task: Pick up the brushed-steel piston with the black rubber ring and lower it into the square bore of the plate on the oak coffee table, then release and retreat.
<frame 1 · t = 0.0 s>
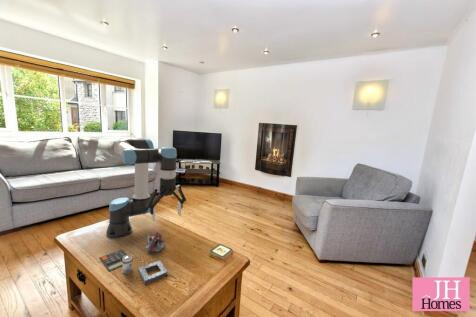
hand: (166, 217, 107), 28 cm above the table, fingers open, 13 cm apart
bore plate: (152, 273, 105), on the table
piston: (127, 271, 105), on the table
brake caliper: (155, 249, 126), on the table
calculator: (115, 260, 113), on the table
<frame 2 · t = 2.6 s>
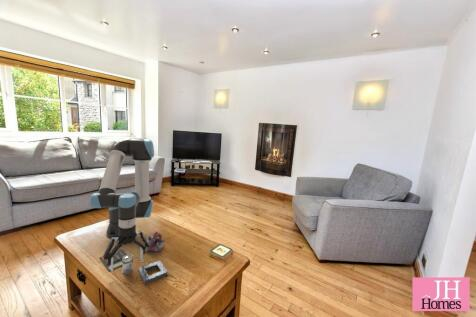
hand: (127, 265, 104), 4 cm above the table, fingers open, 13 cm apart
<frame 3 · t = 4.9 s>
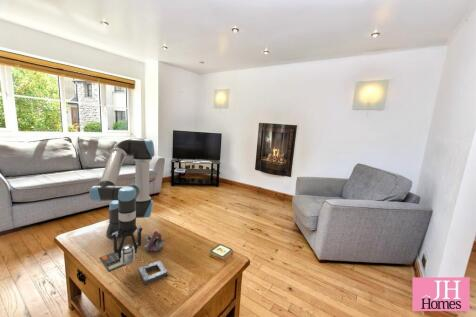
hand: (127, 260, 105), 5 cm above the table, fingers closed on piston, 5 cm apart
piston: (127, 261, 105), point 5 cm above the table, touching gripper
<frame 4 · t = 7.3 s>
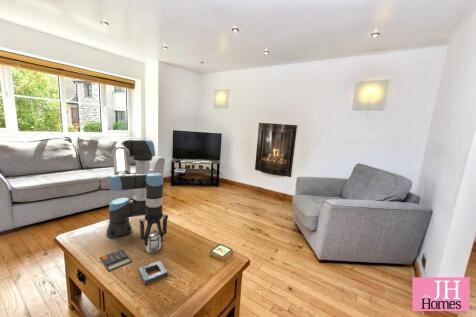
hand: (153, 249, 103), 13 cm above the table, fingers closed on piston, 5 cm apart
piston: (153, 249, 103), point 13 cm above the table, touching gripper
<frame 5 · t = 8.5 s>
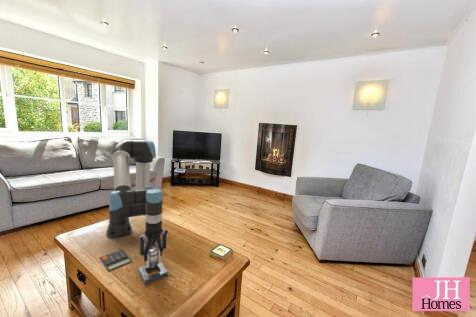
hand: (153, 264, 104), 5 cm above the table, fingers closed on piston, 5 cm apart
piston: (153, 264, 104), point 5 cm above the table, touching gripper
when the fingers open (4 cm above the table, at t = 9.6 s): piston drops 3 cm, resting in bore plate.
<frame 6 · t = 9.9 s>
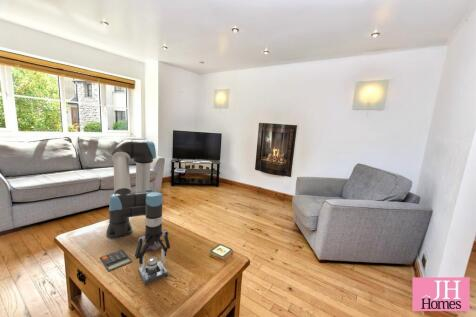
hand: (153, 265, 104), 5 cm above the table, fingers open, 9 cm apart
piston: (152, 273, 105), resting in bore plate
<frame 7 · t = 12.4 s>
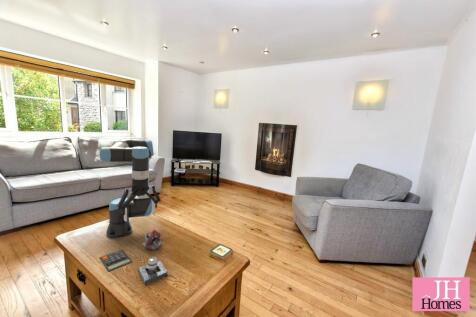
hand: (140, 217, 107), 27 cm above the table, fingers open, 13 cm apart
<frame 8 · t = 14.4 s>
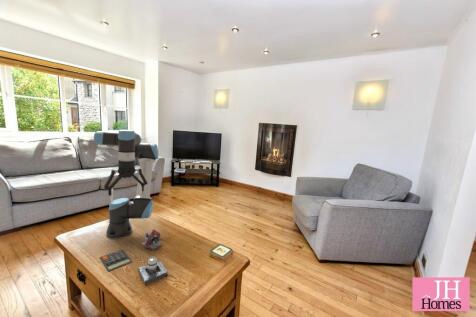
hand: (126, 199, 110), 35 cm above the table, fingers open, 13 cm apart
at the end: piston 0.2 cm off-centre on the bore plate, point 0.0 cm above the bore plate's base; piston tilted 1°; the gripper is holding nothing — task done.
